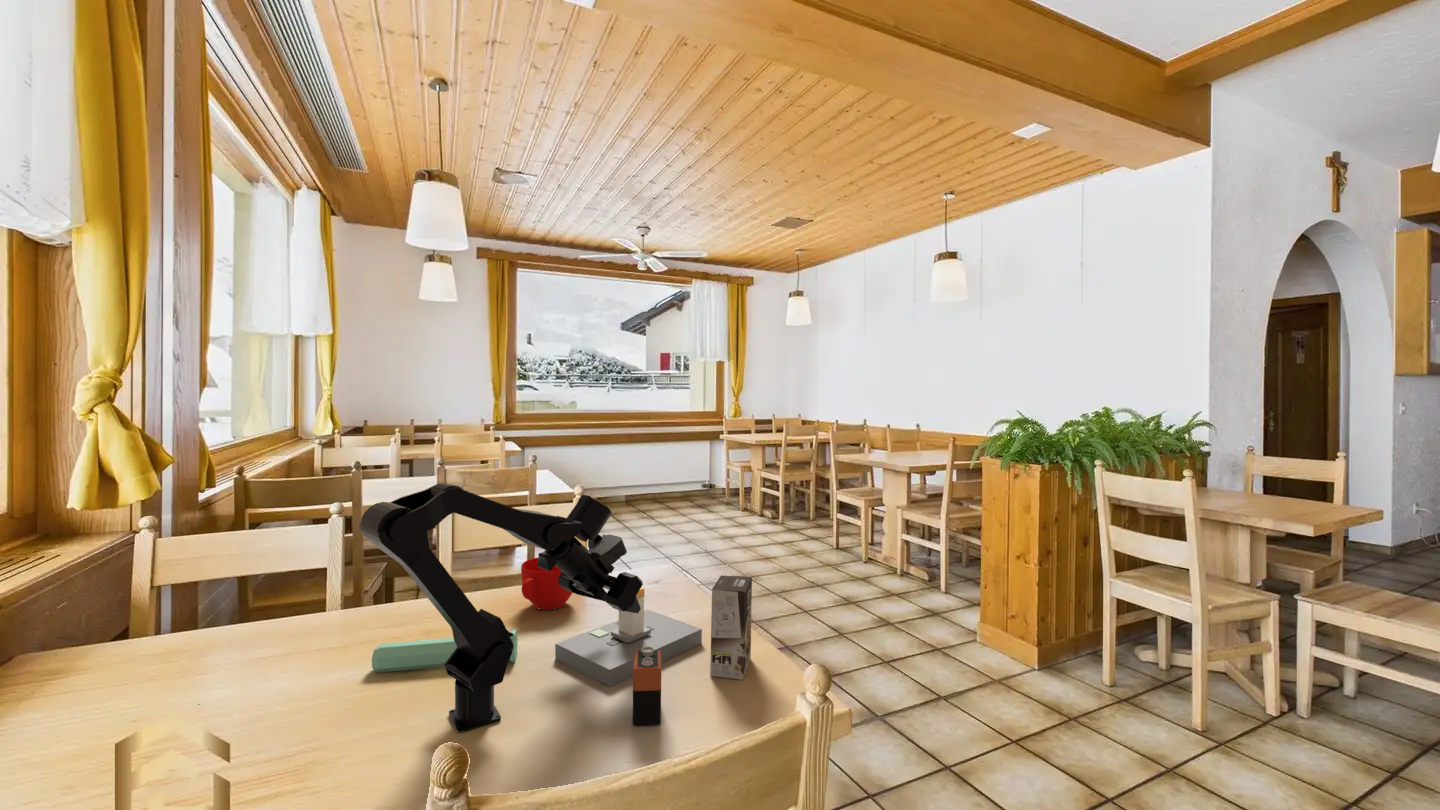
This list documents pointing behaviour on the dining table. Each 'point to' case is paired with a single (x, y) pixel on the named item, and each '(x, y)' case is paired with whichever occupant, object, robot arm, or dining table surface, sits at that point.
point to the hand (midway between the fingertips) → (622, 604)
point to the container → (419, 654)
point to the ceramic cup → (542, 586)
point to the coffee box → (731, 627)
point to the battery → (647, 687)
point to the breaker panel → (625, 647)
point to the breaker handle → (632, 623)
